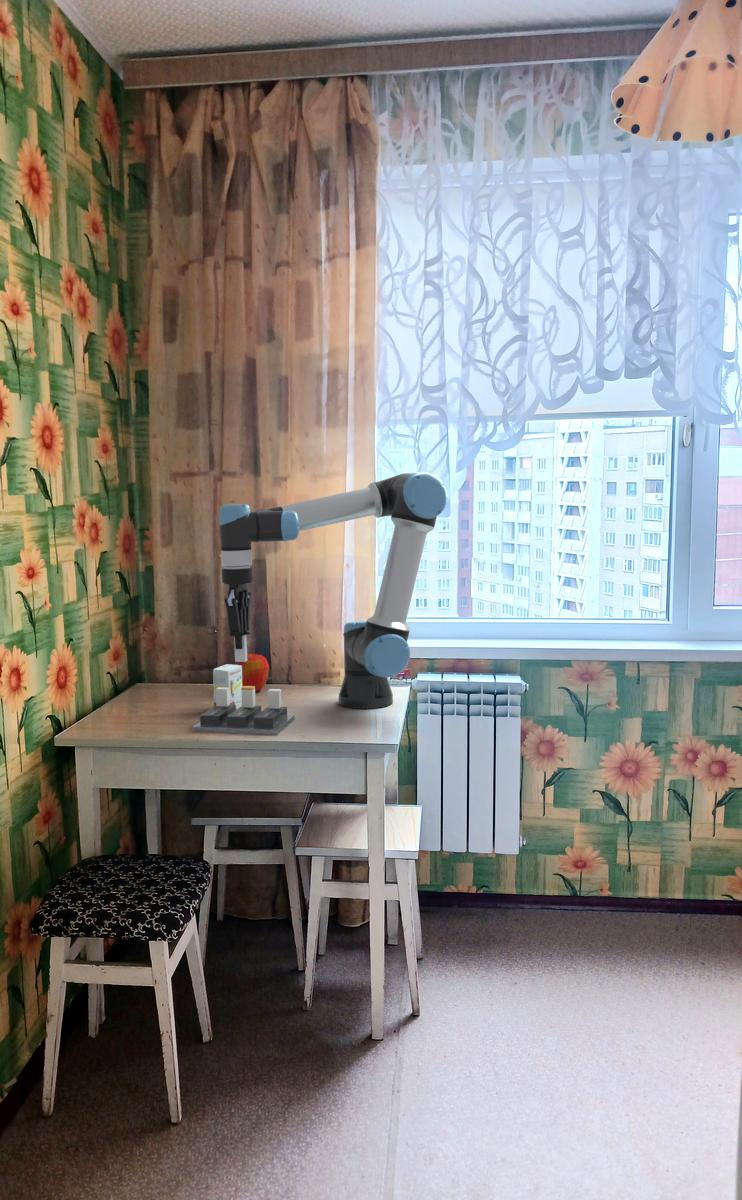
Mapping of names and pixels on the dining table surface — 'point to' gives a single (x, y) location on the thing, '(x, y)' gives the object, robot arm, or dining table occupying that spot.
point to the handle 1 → (222, 696)
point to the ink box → (229, 682)
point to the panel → (245, 729)
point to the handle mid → (248, 696)
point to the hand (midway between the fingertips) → (241, 661)
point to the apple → (254, 671)
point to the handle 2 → (274, 698)
